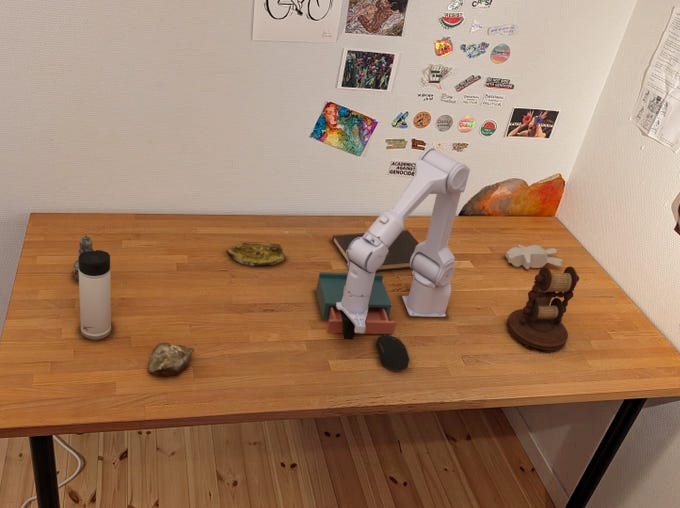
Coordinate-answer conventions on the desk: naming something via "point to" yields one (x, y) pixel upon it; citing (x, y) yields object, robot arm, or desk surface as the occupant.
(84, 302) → the travel mug
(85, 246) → the grey stone figurine
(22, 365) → the desk surface
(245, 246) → the mossy rock
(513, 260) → the bunny figurine
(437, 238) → the robot arm
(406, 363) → the gaming mouse
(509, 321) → the brown round-based upright piece
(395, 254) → the hardcover book
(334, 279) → the teal drawer box
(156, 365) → the rock
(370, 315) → the drawer
